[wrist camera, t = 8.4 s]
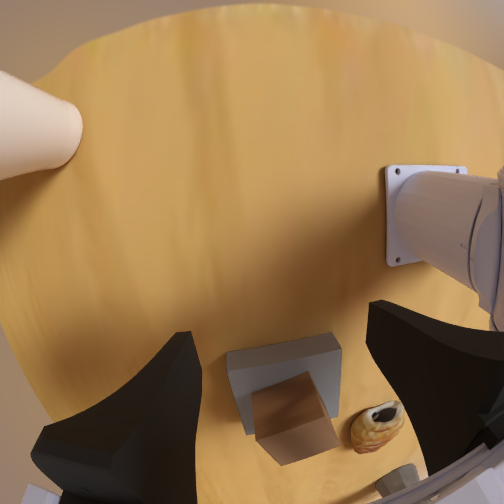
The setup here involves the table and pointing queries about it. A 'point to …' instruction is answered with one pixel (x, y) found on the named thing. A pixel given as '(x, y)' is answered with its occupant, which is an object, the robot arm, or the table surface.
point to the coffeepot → (398, 480)
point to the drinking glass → (34, 128)
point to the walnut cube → (292, 420)
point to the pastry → (376, 426)
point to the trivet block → (285, 371)
